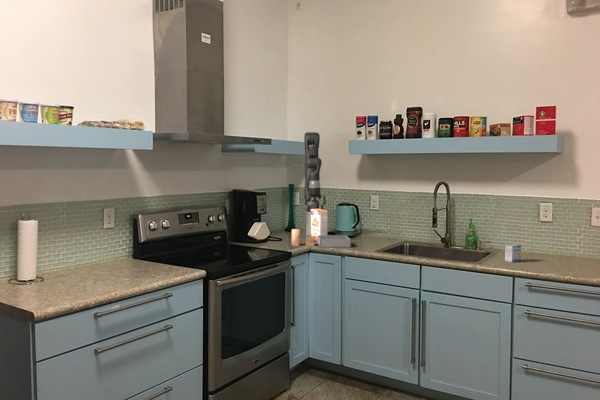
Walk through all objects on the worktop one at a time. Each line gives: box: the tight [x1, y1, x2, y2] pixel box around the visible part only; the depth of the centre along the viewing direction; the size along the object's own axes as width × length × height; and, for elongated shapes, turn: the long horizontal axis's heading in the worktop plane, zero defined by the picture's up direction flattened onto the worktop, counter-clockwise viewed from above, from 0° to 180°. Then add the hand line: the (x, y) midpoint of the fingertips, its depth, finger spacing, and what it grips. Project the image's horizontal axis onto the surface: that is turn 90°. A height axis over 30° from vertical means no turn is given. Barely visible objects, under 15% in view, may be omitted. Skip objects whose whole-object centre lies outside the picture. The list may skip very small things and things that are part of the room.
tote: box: [316, 234, 352, 249], centre depth 319 cm, size 17×19×5 cm
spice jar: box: [291, 228, 301, 247], centre depth 318 cm, size 5×5×10 cm
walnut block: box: [305, 236, 315, 247], centre depth 318 cm, size 5×5×5 cm
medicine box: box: [504, 243, 522, 263], centre depth 272 cm, size 8×4×9 cm, turn 122°
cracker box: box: [310, 208, 329, 242], centre depth 337 cm, size 14×6×21 cm, turn 25°
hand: (315, 211), depth 343 cm, fingers open, 8 cm apart
